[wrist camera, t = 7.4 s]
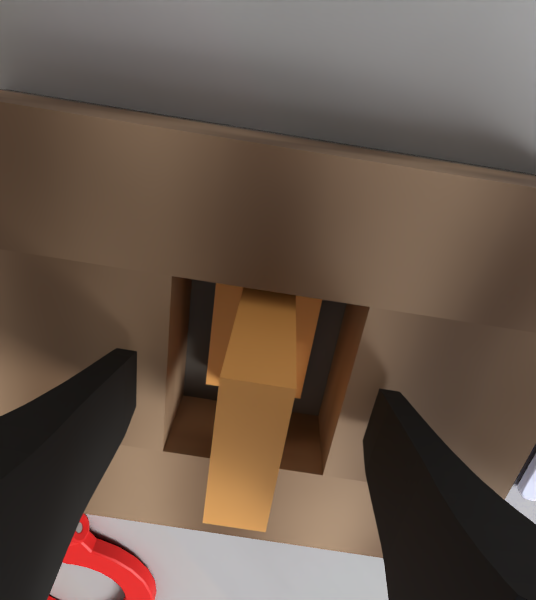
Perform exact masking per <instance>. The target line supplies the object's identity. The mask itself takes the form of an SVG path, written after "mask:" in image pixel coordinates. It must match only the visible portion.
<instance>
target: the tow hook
mask: <svg viewBox="0 0 536 600" xmlns="http://www.w3.org/2000/svg"><path fill="white" fill-rule="evenodd" d="M63 563H66V564H74V565H79V566H83V567H88V568H90V569H93V570H95V571H98V572H101V573H103V574H104V575H106V576H108V577H109V578H111V579H113V580H114V581H115V582H116V583H117V584H118V585H119V586H120V587H121V588H122V590H123V591H124V593H125V598H124V599H123V600H155V596H156V586H155V580H154V578H153V577H152V575H151V573H150V571H149V570H148V568H147V567H145V566H144V565H143V564H142V563H141V562H140V561H139V560H138V559H137V558H136V557H135V556H133V555H132V554H130V553H128V552H127V551H125V550H123V549H122V548H120V547H118V546H116V545H113V544H111V543H108V542H106V541H103V540H101V539H97V538H96V537H95V536H94V535H93V534H92V533H91V532H90V531H89V521H88V518H87V516H86V515H85V514H84V513H83V515H82V517H81V519H80V521H79V524H78V526H77V528H76V531H75V533H74V535H73V538H72V540H71V542H70V545H69V547H68V550H67V552H66V554H65V557H64V559H63ZM47 600H57V599H55V598H53V597H51V596H48V599H47Z"/></svg>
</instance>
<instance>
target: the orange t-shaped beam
mask: <svg viewBox="0 0 536 600" xmlns="http://www.w3.org/2000/svg"><path fill="white" fill-rule="evenodd" d="M321 303H322V299H316V298H309V297H303V296H297V295H290V294H284V293H277V292H271V291H265V290H258V289H252V288H245V287H239V286H232V285H226V284H220V283H216V288H215V298H214V308H213V318H212V328H211V338H210V348H209V358H208V367H207V377H206V384H208V385H214V386H219V387H218V396H217V404H216V413H215V421H214V430H213V438H212V447H211V455H210V464H209V472H208V481H207V489H206V498H205V506H204V515H203V523H206V524H213V525H220V526H226V527H233V528H240V529H247V530H253V531H260V532H266V528H267V523H268V519H269V514H270V510H271V505H272V500H273V496H274V491H275V486H276V482H277V477H278V473H279V468H280V463H281V459H282V454H283V449H284V445H285V440H286V436H287V431H288V426H289V422H290V417H291V413H292V408H293V403H294V399H295V398H299V399H300V397H301V393H302V388H303V384H304V379H305V375H306V371H307V366H308V362H309V357H310V353H311V348H312V344H313V339H314V335H315V330H316V326H317V321H318V317H319V312H320V308H321Z"/></svg>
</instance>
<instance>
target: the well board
mask: <svg viewBox="0 0 536 600" xmlns="http://www.w3.org/2000/svg"><path fill="white" fill-rule="evenodd" d="M216 283H220V284H226V285H232V286H239V287H245V288H252V289H258V290H265V291H271V292H277V293H284V294H290V295H297V296H303V297H309V298H316V299H322V303H321V308H320V312H319V317H318V321H317V326H316V330H315V335H314V339H313V344H312V348H311V353H310V357H309V362H308V366H307V371H306V375H305V379H304V384H303V388H302V393H301V397H300V399H299V398H295V399H294V403H293V408H292V413H291V417H290V422H289V426H288V431H287V436H286V440H285V445H284V449H283V454H282V459H281V463H280V468H279V473H278V477H277V482H276V486H275V491H274V496H273V500H272V505H271V510H270V514H269V519H268V523H267V528H266V532H260V531H253V530H247V529H240V528H233V527H226V526H220V525H213V524H206V523H203V515H204V506H205V498H206V489H207V481H208V472H209V464H210V455H211V447H212V438H213V430H214V421H215V413H216V404H217V396H218V387H219V386H214V385H208V384H206V377H207V367H208V358H209V348H210V338H211V328H212V318H213V308H214V298H215V288H216ZM116 348H120V349H126V350H133V351H137V394H136V408H135V411H134V414H133V416H132V419H131V422H130V424H129V427H128V429H127V432H126V434H125V437H124V439H123V440H122V442H121V444H120V446H119V448H118V450H117V452H116V454H115V455H114V457H113V459H112V461H111V463H110V465H109V466H108V468H107V470H106V472H105V474H104V476H103V477H102V479H101V481H100V483H99V485H98V487H97V488H96V490H95V492H94V494H93V496H92V497H91V499H90V501H89V503H88V505H87V507H86V509H85V511H84V514H91V515H97V516H104V517H111V518H118V519H124V520H131V521H138V522H145V523H151V524H158V525H165V526H171V527H178V528H185V529H192V530H198V531H205V532H212V533H219V534H225V535H232V536H239V537H245V538H252V539H259V540H266V541H272V542H279V543H286V544H293V545H299V546H306V547H313V548H320V549H326V550H333V551H340V552H346V553H353V554H360V555H367V556H373V557H380V558H383V553H382V548H381V543H380V538H379V534H378V529H377V525H376V520H375V516H374V511H373V507H372V502H371V498H370V493H369V488H368V484H367V479H366V474H365V465H364V454H363V438H364V434H365V431H366V428H367V425H368V422H369V419H370V416H371V413H372V409H373V406H374V403H375V400H376V397H377V394H378V391H379V388H380V389H386V390H393V391H399V392H401V394H402V395H403V396H404V397H405V398H406V399H407V400H408V401H409V402H410V404H411V405H412V406H413V407H414V408H415V410H416V411H417V412H418V413H419V414H420V415H421V417H422V418H423V419H424V420H425V421H426V422H427V424H428V425H429V426H430V427H431V428H432V429H433V430H434V432H435V433H436V434H437V435H438V436H439V437H440V438H441V439H442V440H443V442H444V443H445V444H446V445H447V446H448V447H449V448H450V449H451V450H452V451H453V452H454V453H455V454H456V455H457V456H458V457H459V458H460V459H461V460H462V461H463V462H464V463H465V464H466V465H467V466H468V467H469V468H470V469H471V470H472V471H473V472H474V473H475V474H476V475H477V476H478V477H479V478H480V479H481V480H482V481H483V482H485V483H486V484H487V485H488V486H489V487H490V488H491V489H493V490H494V491H495V492H496V493H497V494H498V495H499V496H500V497H502V498H503V499H504V500H505V498H506V496H507V494H508V492H509V491H510V489H511V487H512V485H513V483H514V482H515V480H516V478H517V476H518V474H519V473H520V471H521V469H522V467H523V466H524V464H525V462H526V460H527V458H528V457H529V455H530V453H531V451H532V449H533V448H534V446H535V444H536V175H533V174H527V173H521V172H514V171H508V170H502V169H496V168H490V167H483V166H477V165H471V164H465V163H458V162H452V161H446V160H440V159H434V158H427V157H421V156H415V155H409V154H403V153H396V152H390V151H384V150H378V149H371V148H365V147H359V146H353V145H347V144H340V143H334V142H328V141H322V140H316V139H309V138H303V137H297V136H291V135H284V134H278V133H272V132H266V131H260V130H253V129H247V128H241V127H235V126H229V125H222V124H216V123H210V122H204V121H197V120H191V119H185V118H179V117H173V116H166V115H160V114H154V113H148V112H141V111H135V110H129V109H123V108H117V107H110V106H104V105H98V104H92V103H86V102H79V101H73V100H67V99H61V98H54V97H48V96H42V95H36V94H30V93H23V92H17V91H11V90H3V89H0V416H2V415H4V414H6V413H8V412H10V411H13V410H15V409H17V408H19V407H21V406H23V405H25V404H26V403H28V402H30V401H32V400H34V399H36V398H37V397H39V396H41V395H43V394H44V393H46V392H48V391H50V390H51V389H53V388H55V387H57V386H58V385H60V384H62V383H63V382H65V381H67V380H68V379H70V378H71V377H73V376H74V375H76V374H78V373H79V372H81V371H82V370H84V369H85V368H87V367H88V366H90V365H91V364H93V363H94V362H96V361H97V360H99V359H100V358H102V357H103V356H105V355H106V354H108V353H109V352H111V351H113V350H114V349H116Z"/></svg>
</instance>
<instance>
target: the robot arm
mask: <svg viewBox="0 0 536 600" xmlns="http://www.w3.org/2000/svg"><path fill="white" fill-rule="evenodd" d="M136 394H137V351H133V350H126V349H120V348H116V349H114V350H113V351H111V352H109V353H108V354H106V355H105V356H103V357H102V358H100V359H99V360H97V361H96V362H94V363H93V364H91V365H90V366H88V367H87V368H85V369H84V370H82V371H81V372H79V373H78V374H76V375H74V376H73V377H71V378H70V379H68V380H67V381H65V382H63V383H62V384H60V385H58V386H57V387H55V388H53V389H51V390H50V391H48V392H46V393H44V394H43V395H41V396H39V397H37V398H36V399H34V400H32V401H30V402H28V403H26V404H25V405H23V406H21V407H19V408H17V409H15V410H13V411H10V412H8V413H6V414H4V415H2V416H0V600H47V599H48V596H49V594H50V591H51V589H52V586H53V584H54V581H55V579H56V576H57V574H58V571H59V569H60V567H61V564H62V562H63V559H64V557H65V554H66V552H67V550H68V547H69V545H70V542H71V540H72V538H73V535H74V533H75V531H76V528H77V526H78V524H79V521H80V519H81V517H82V515H83V513H84V511H85V509H86V507H87V505H88V503H89V501H90V499H91V497H92V496H93V494H94V492H95V490H96V488H97V487H98V485H99V483H100V481H101V479H102V477H103V476H104V474H105V472H106V470H107V468H108V466H109V465H110V463H111V461H112V459H113V457H114V455H115V454H116V452H117V450H118V448H119V446H120V444H121V442H122V440H123V439H124V437H125V434H126V432H127V429H128V427H129V424H130V422H131V419H132V416H133V414H134V411H135V408H136ZM363 454H364V465H365V474H366V479H367V484H368V488H369V493H370V498H371V502H372V507H373V511H374V516H375V520H376V525H377V529H378V534H379V538H380V543H381V548H382V553H383V559H384V565H385V573H386V581H387V589H388V598H389V600H536V524H534V523H533V522H532V521H531V520H529V519H528V518H527V517H525V516H524V515H523V514H521V513H520V512H519V511H518V510H516V509H515V508H514V507H513V506H511V505H510V504H509V503H508V502H506V501H505V500H504V499H503V498H502V497H500V496H499V495H498V494H497V493H496V492H495V491H494V490H493V489H491V488H490V487H489V486H488V485H487V484H486V483H485V482H483V481H482V480H481V479H480V478H479V477H478V476H477V475H476V474H475V473H474V472H473V471H472V470H471V469H470V468H469V467H468V466H467V465H466V464H465V463H464V462H463V461H462V460H461V459H460V458H459V457H458V456H457V455H456V454H455V453H454V452H453V451H452V450H451V449H450V448H449V447H448V446H447V445H446V444H445V443H444V442H443V440H442V439H441V438H440V437H439V436H438V435H437V434H436V433H435V432H434V430H433V429H432V428H431V427H430V426H429V425H428V424H427V422H426V421H425V420H424V419H423V418H422V417H421V415H420V414H419V413H418V412H417V411H416V410H415V408H414V407H413V406H412V405H411V404H410V402H409V401H408V400H407V399H406V398H405V397H404V396H403V395H402V394H401V392H399V391H393V390H386V389H380V388H379V391H378V394H377V397H376V400H375V403H374V406H373V409H372V413H371V416H370V419H369V422H368V425H367V428H366V431H365V434H364V438H363ZM517 488H518V491H519V493H520V494H521V496H522V497H523V498H524V499H527V500H533V501H536V454H535V455H534V457H533V459H532V461H531V462H530V464H529V466H528V468H527V470H526V471H525V473H524V475H523V477H522V478H521V480H520V482H519V484H518V487H517Z"/></svg>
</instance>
